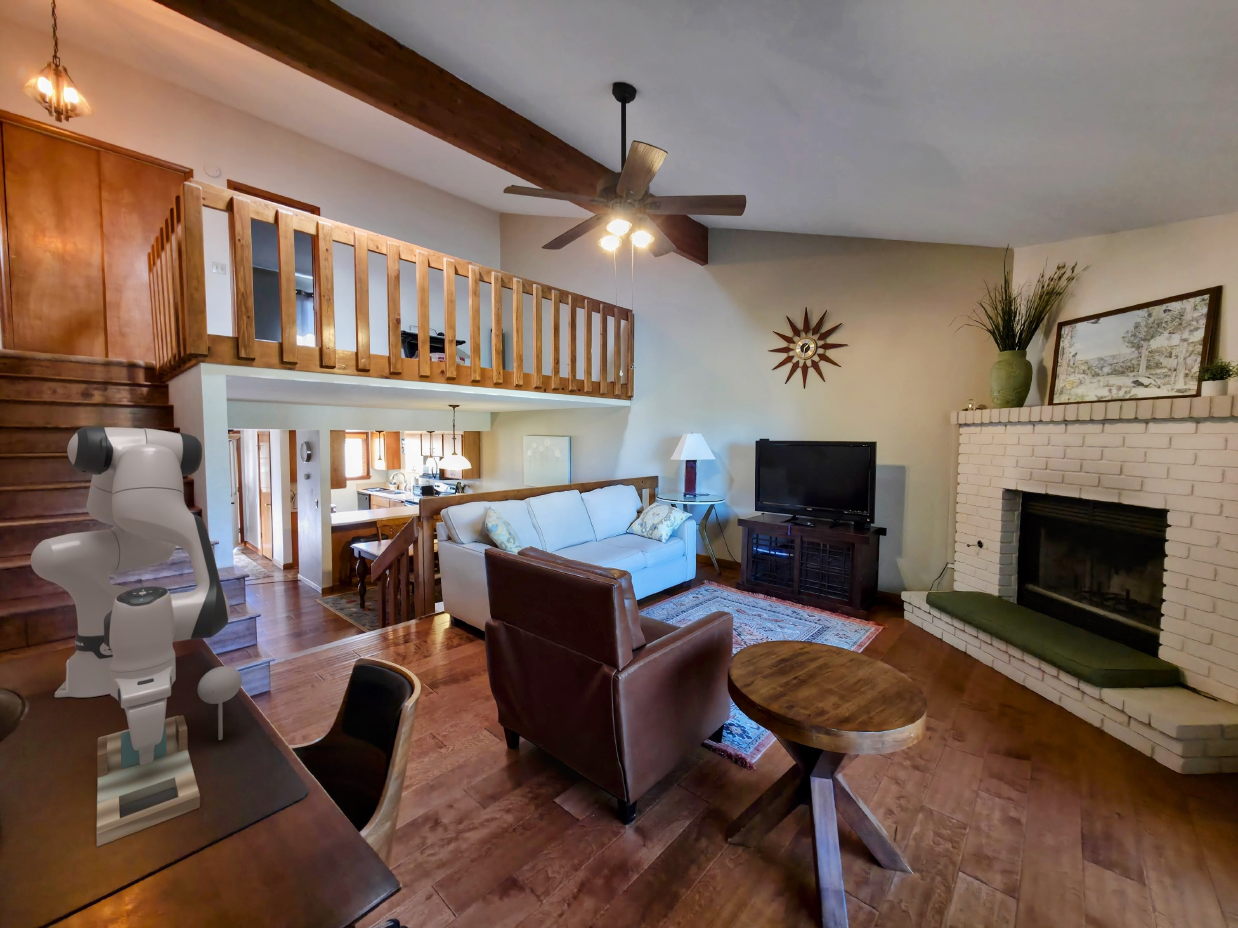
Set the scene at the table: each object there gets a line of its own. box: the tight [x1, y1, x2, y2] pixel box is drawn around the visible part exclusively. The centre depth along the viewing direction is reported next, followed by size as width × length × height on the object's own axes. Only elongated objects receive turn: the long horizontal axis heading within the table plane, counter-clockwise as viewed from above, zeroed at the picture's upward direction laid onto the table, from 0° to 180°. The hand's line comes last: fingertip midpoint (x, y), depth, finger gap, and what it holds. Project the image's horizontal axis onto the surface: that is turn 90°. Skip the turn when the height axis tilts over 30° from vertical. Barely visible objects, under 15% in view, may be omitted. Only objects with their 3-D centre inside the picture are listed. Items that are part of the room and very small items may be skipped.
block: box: [121, 723, 166, 769], centre depth 94 cm, size 5×6×4 cm
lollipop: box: [197, 665, 243, 741], centre depth 103 cm, size 7×7×15 cm
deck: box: [96, 714, 201, 848], centre depth 92 cm, size 35×12×6 cm, turn 46°
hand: (144, 750), depth 93 cm, fingers open, 8 cm apart
